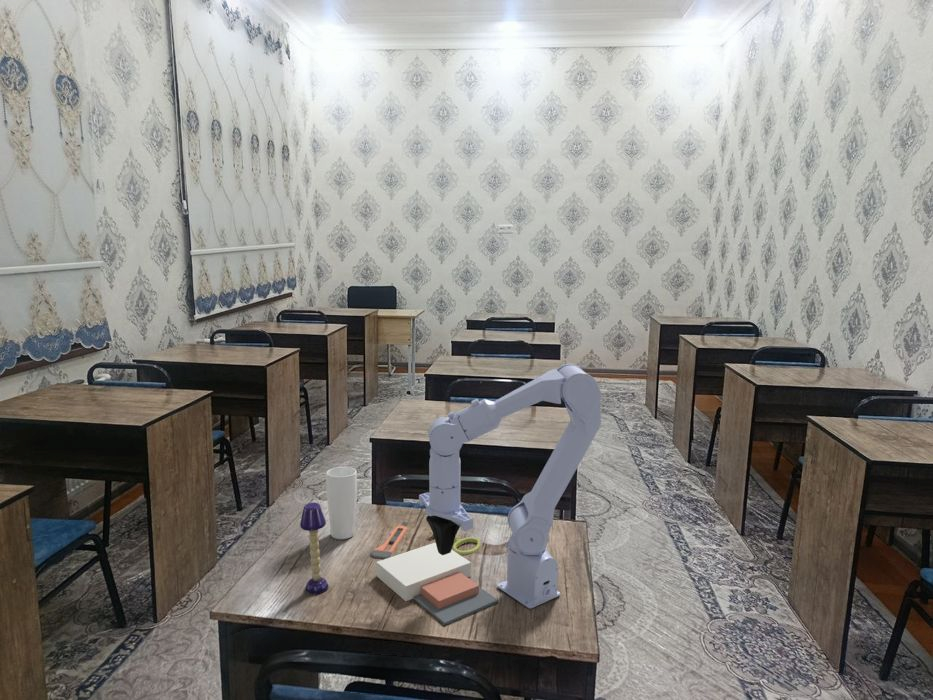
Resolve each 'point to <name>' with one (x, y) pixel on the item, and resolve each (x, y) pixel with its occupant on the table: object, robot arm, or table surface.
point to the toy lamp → (314, 545)
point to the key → (462, 541)
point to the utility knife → (393, 538)
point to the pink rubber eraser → (449, 590)
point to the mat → (457, 606)
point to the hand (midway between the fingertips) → (444, 552)
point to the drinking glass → (341, 501)
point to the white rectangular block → (419, 569)
